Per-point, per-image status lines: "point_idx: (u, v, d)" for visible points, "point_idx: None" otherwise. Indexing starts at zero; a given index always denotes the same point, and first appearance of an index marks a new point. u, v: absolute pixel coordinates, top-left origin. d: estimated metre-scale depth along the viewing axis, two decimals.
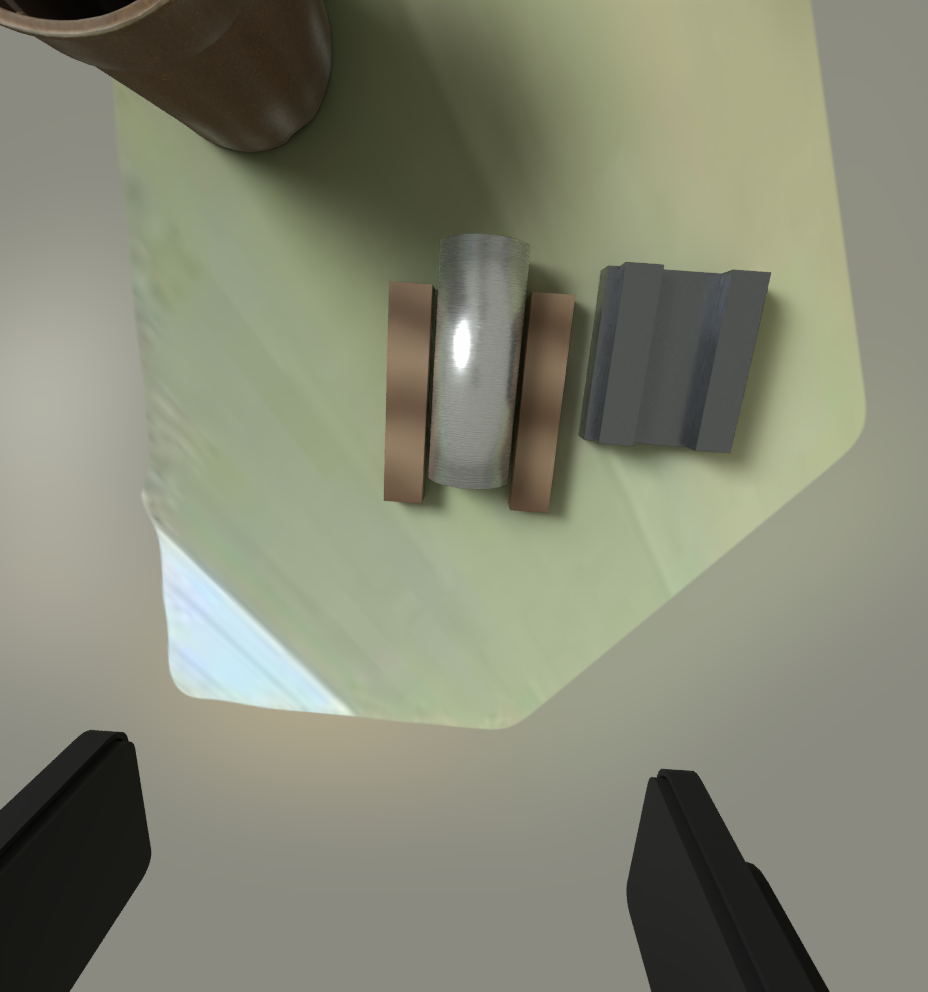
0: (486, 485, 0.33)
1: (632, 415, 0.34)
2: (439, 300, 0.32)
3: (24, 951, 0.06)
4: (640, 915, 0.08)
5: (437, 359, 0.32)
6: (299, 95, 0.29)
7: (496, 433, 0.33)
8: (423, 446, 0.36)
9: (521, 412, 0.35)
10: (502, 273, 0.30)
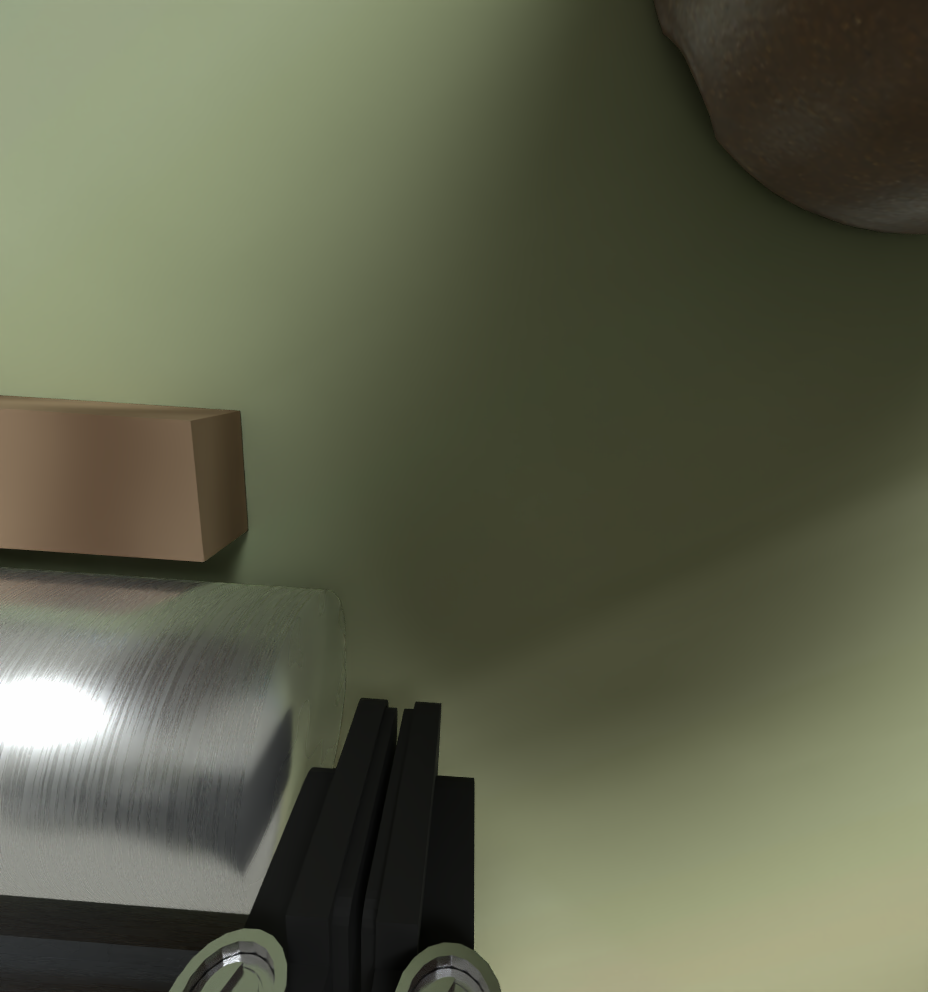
0: None
1: None
2: (81, 628, 0.09)
3: None
4: None
5: None
6: (827, 61, 0.06)
7: None
8: None
9: None
10: (130, 902, 0.08)
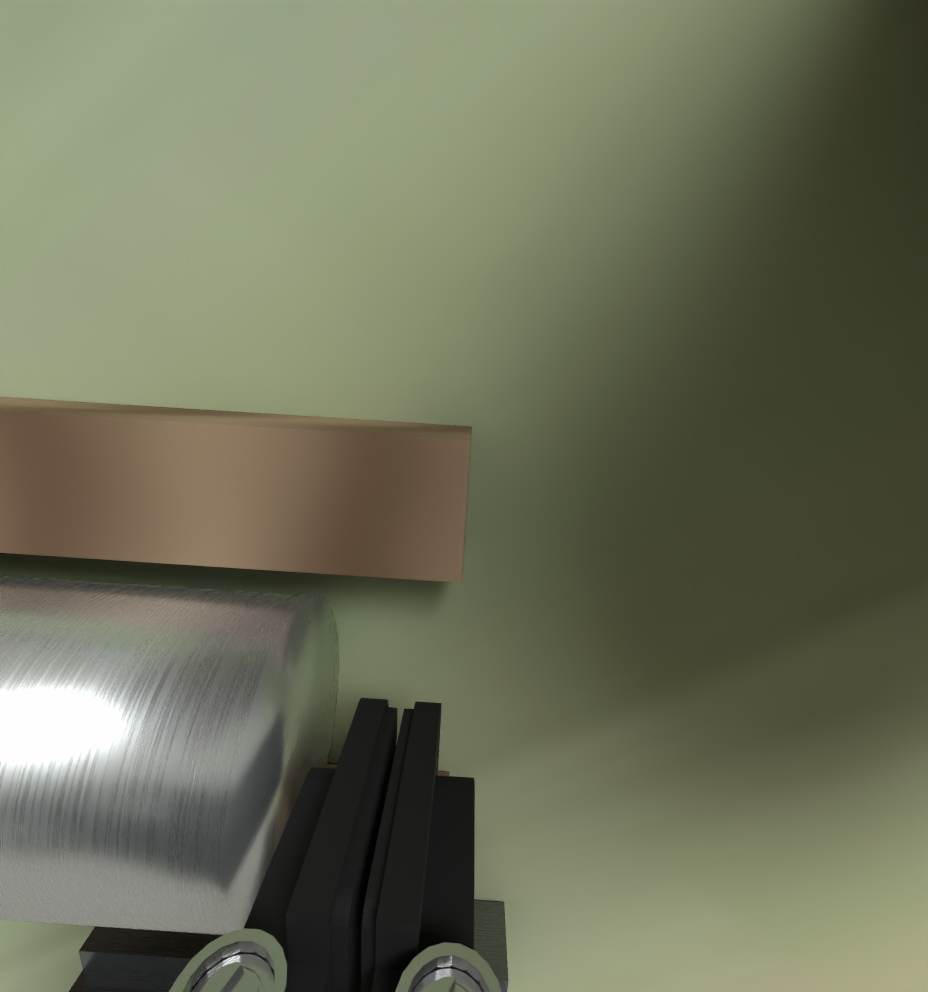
0: None
1: None
2: (59, 639, 0.08)
3: None
4: None
5: None
6: None
7: None
8: None
9: None
10: (110, 924, 0.08)
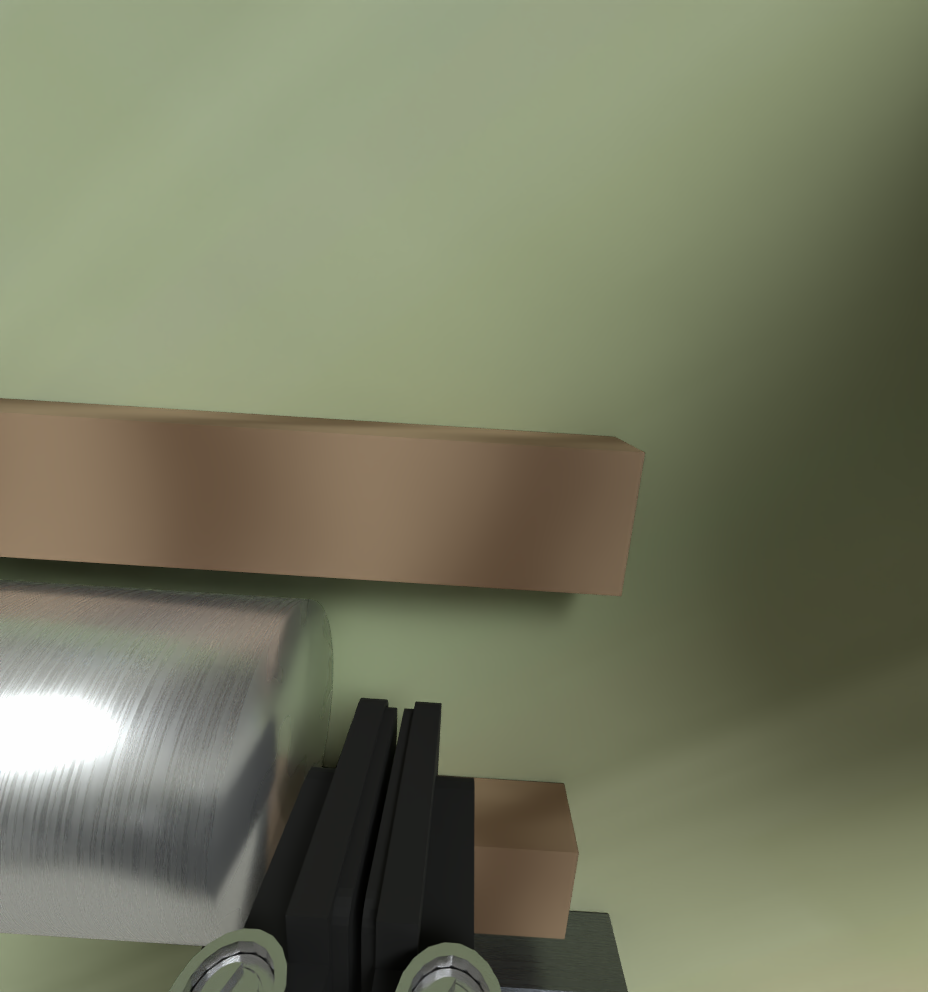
0: None
1: None
2: (45, 645, 0.08)
3: None
4: None
5: None
6: None
7: None
8: (68, 557, 0.10)
9: None
10: (96, 936, 0.07)
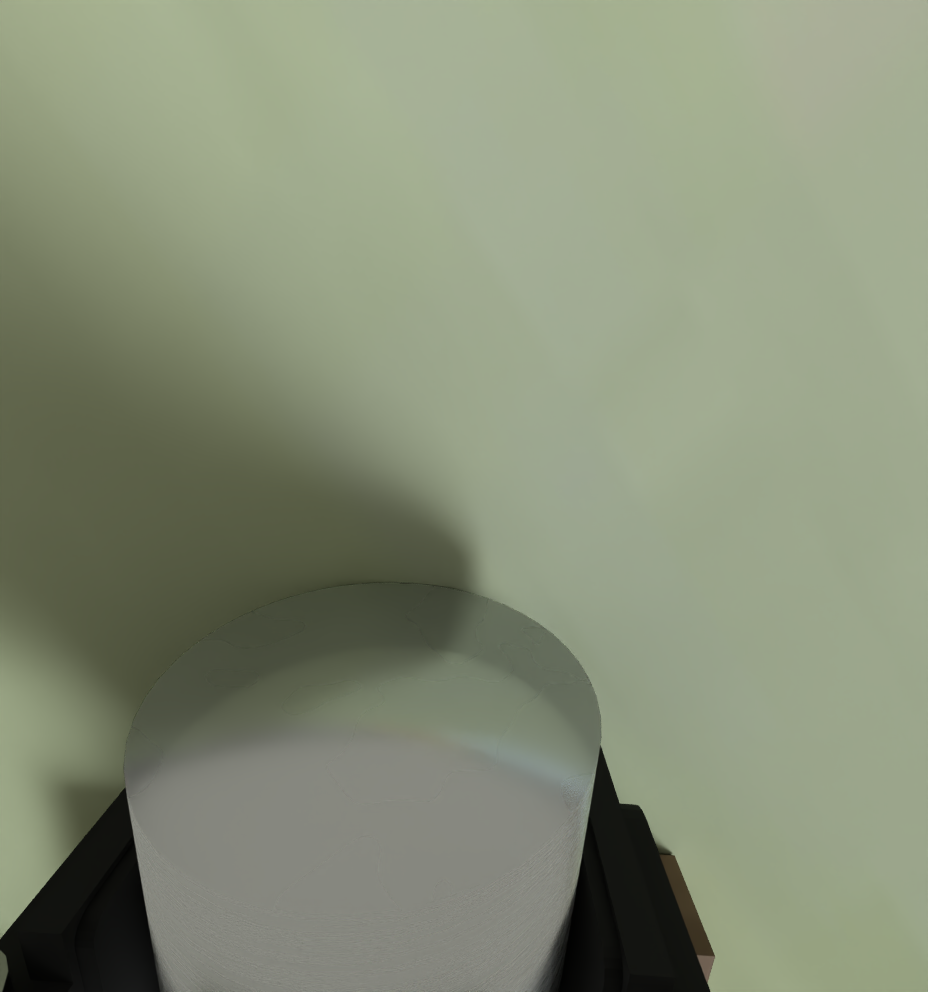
0: (169, 881, 0.04)
1: None
2: None
3: None
4: None
5: None
6: None
7: None
8: None
9: None
10: None
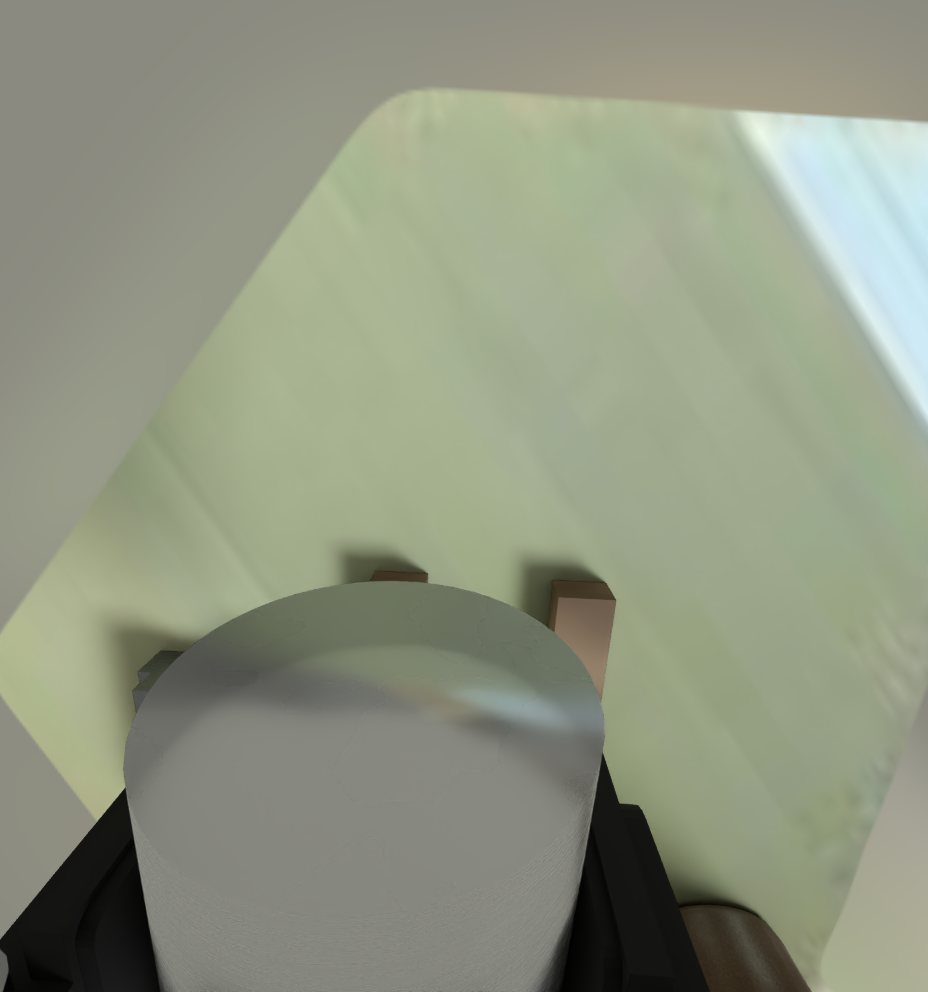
0: (171, 883, 0.04)
1: None
2: None
3: None
4: None
5: None
6: None
7: None
8: None
9: None
10: None
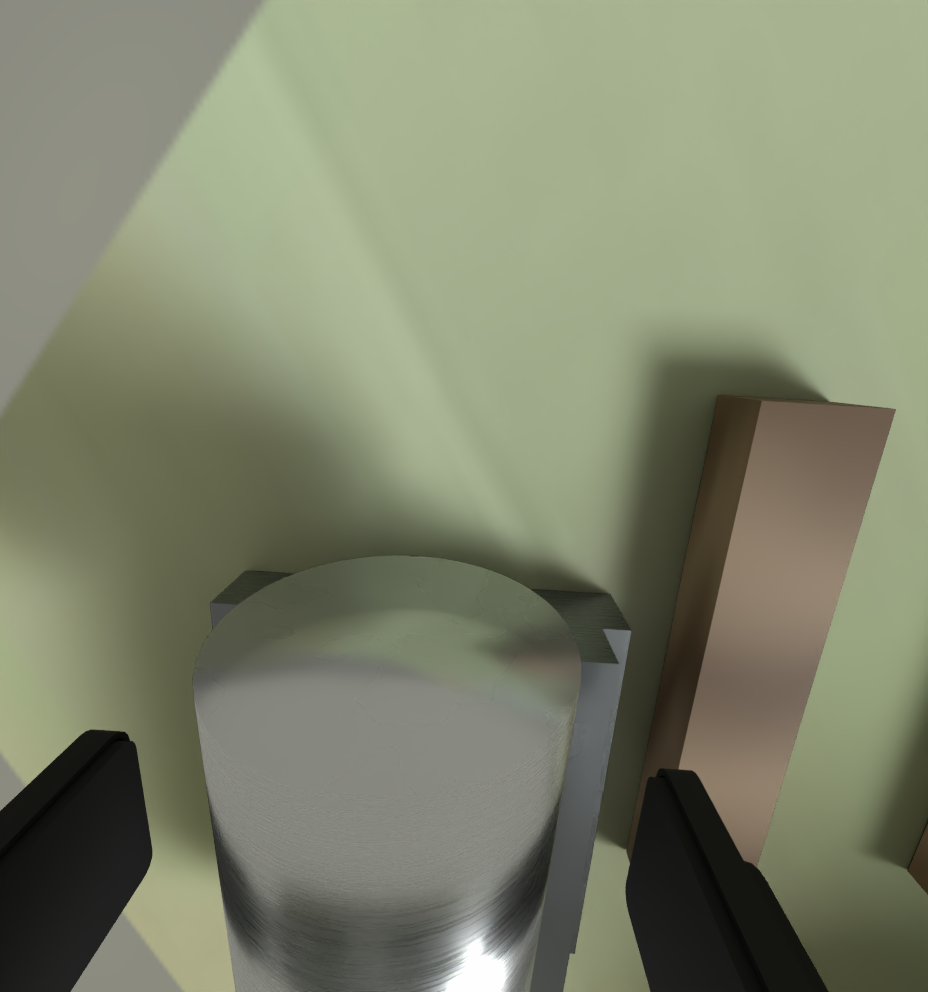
0: (238, 776, 0.06)
1: None
2: None
3: (26, 950, 0.06)
4: (639, 914, 0.08)
5: None
6: None
7: (243, 952, 0.07)
8: None
9: (803, 696, 0.13)
10: None
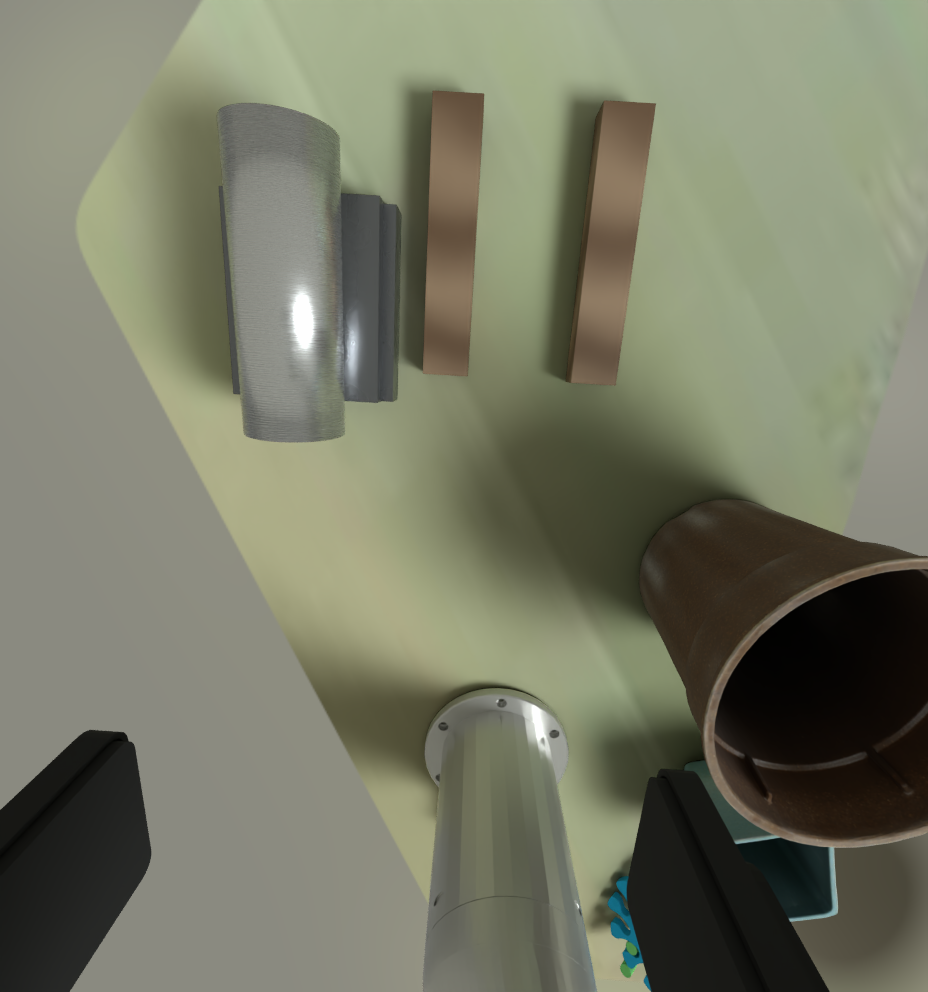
0: (229, 112, 0.23)
1: (344, 234, 0.29)
2: (332, 375, 0.28)
3: (24, 951, 0.06)
4: (640, 915, 0.08)
5: (327, 305, 0.26)
6: (679, 536, 0.33)
7: (231, 200, 0.24)
8: (594, 189, 0.29)
9: (473, 239, 0.30)
10: (254, 403, 0.27)
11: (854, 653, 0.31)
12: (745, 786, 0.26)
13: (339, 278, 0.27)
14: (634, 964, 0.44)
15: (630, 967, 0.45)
